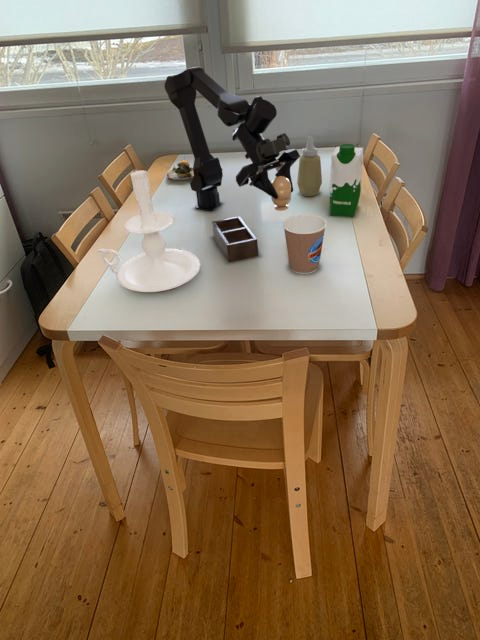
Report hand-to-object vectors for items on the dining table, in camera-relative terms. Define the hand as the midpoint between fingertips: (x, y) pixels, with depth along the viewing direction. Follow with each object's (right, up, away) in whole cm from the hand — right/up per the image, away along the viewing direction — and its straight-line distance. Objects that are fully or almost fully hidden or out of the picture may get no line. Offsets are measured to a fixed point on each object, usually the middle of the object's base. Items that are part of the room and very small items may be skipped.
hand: (284, 195), depth 123 cm
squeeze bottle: (+11, +9, +33) cm, 36 cm away
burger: (-33, +21, +54) cm, 66 cm away
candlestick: (-34, -22, -4) cm, 41 cm away
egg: (-1, -3, +3) cm, 4 cm away
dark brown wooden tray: (-13, -12, +7) cm, 19 cm away
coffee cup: (+4, -19, -4) cm, 20 cm away
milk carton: (+20, 0, +20) cm, 28 cm away
